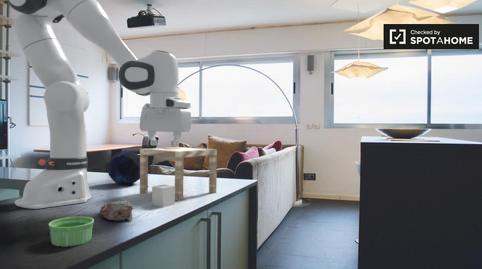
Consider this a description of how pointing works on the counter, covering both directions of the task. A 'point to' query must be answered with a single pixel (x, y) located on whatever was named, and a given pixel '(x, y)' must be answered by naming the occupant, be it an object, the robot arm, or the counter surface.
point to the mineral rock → (117, 210)
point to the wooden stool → (178, 167)
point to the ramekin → (71, 231)
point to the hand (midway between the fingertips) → (164, 146)
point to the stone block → (163, 195)
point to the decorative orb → (124, 168)
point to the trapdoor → (179, 149)
